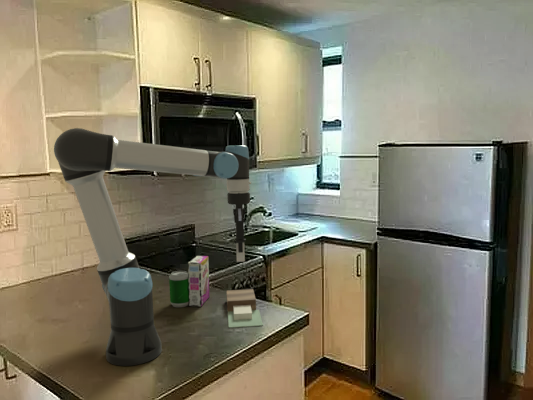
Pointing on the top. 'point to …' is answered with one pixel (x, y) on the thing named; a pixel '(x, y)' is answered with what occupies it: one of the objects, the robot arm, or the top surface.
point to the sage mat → (245, 320)
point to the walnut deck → (240, 298)
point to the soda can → (179, 288)
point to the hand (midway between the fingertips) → (240, 260)
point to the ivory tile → (242, 312)
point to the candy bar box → (198, 280)
